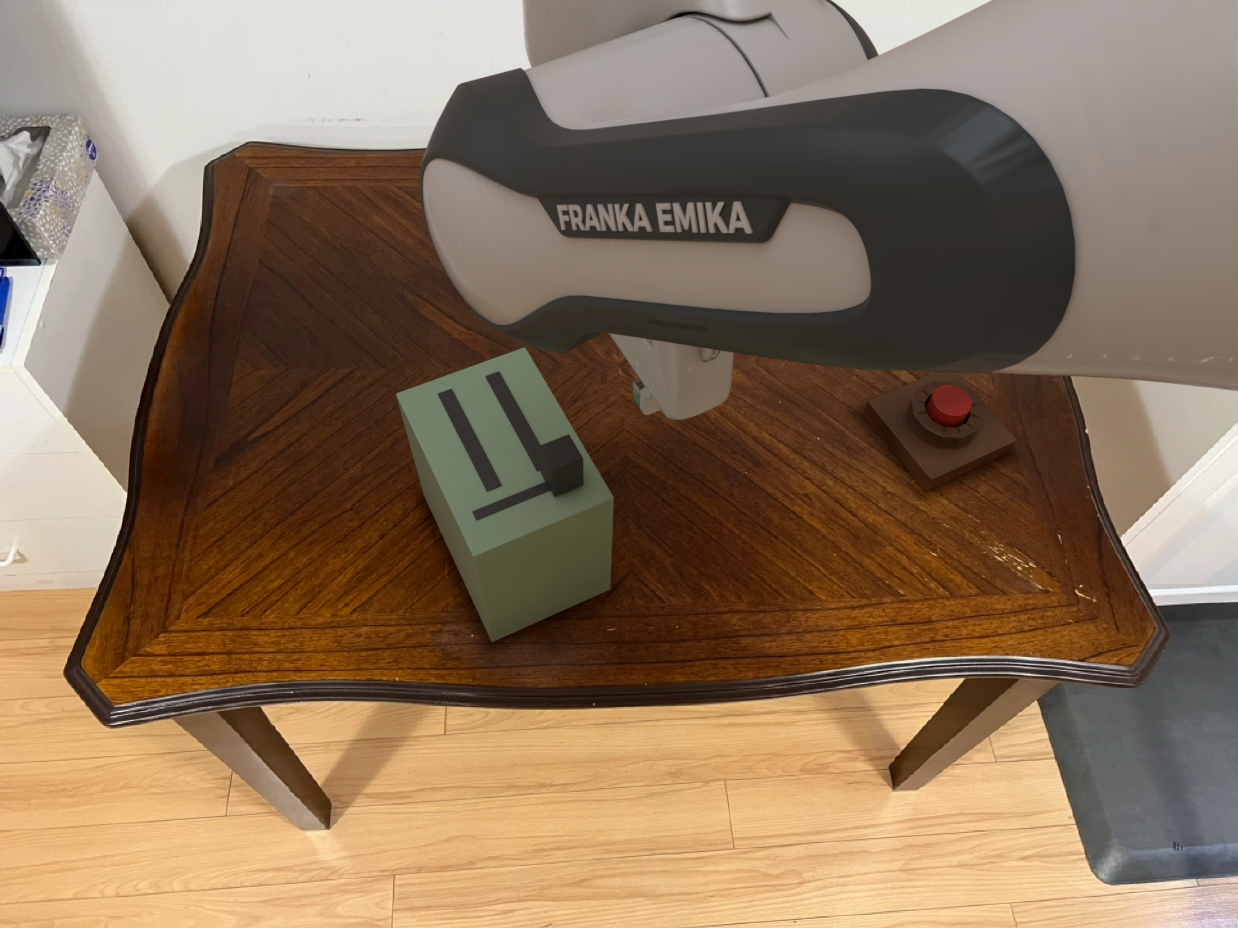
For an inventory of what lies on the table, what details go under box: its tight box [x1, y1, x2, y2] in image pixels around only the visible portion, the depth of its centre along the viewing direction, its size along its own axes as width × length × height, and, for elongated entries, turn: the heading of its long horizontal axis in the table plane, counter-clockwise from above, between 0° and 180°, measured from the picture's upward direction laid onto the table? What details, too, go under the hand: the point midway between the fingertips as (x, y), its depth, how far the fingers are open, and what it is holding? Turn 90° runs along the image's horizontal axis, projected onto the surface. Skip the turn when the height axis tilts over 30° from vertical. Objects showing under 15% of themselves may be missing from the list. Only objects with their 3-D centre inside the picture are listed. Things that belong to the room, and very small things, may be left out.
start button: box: [927, 385, 972, 427], centre depth 88 cm, size 4×4×2 cm
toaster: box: [395, 346, 615, 643], centre depth 78 cm, size 16×11×15 cm
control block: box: [862, 372, 1018, 493], centre depth 90 cm, size 10×10×4 cm
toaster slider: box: [539, 434, 584, 497], centre depth 68 cm, size 2×2×4 cm
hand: (614, 350), depth 60 cm, fingers open, 8 cm apart
